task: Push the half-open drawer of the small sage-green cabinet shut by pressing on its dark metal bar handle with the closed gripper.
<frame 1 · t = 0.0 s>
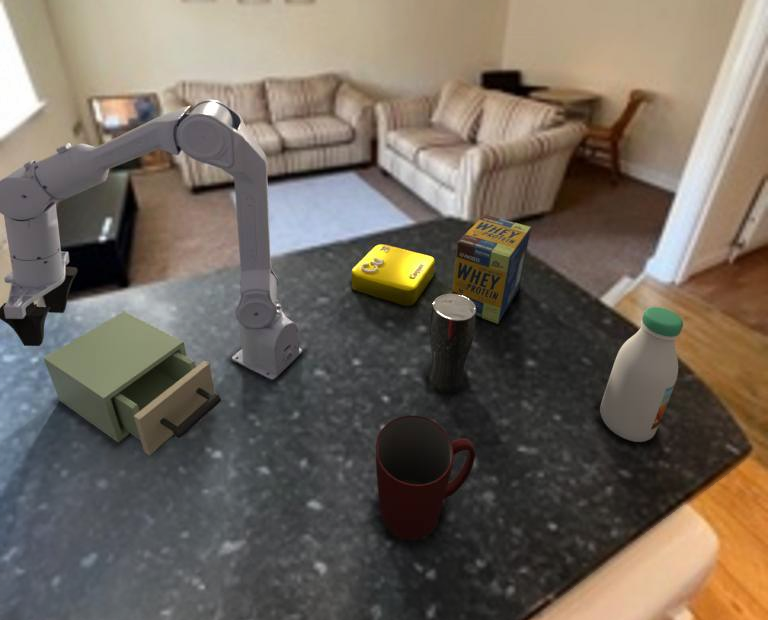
hand: (45, 327, 69), 11 cm above the worktop, tool pointing down, fingers open, 7 cm apart
element tile: (393, 281, 101), on the worktop
drawer: (159, 393, 65), point 4 cm above the worktop, slide at 5.0 cm
protein box: (486, 297, 96), on the worktop
beer glass: (446, 379, 75), on the worktop
milk bottle: (625, 422, 68), on the worktop
cabinet: (127, 391, 71), on the worktop
mug: (421, 506, 56), on the worktop
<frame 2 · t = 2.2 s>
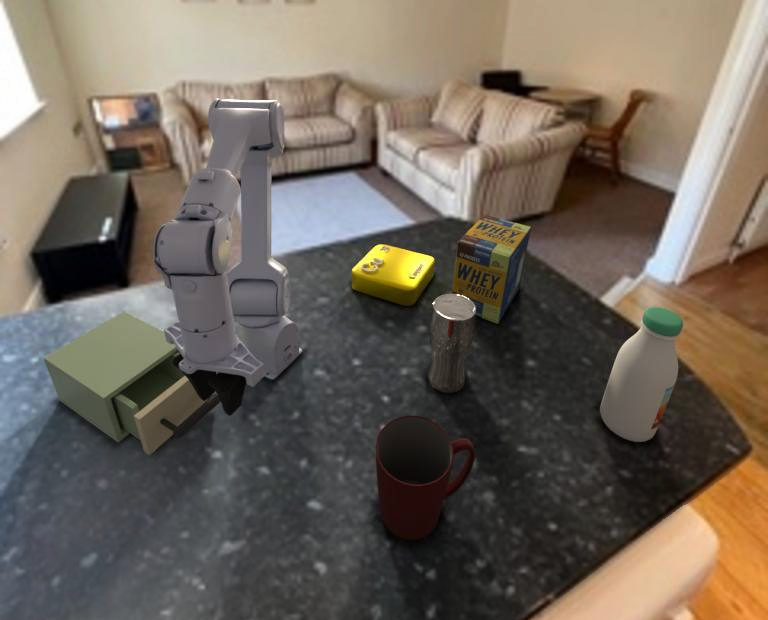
hand: (221, 401, 57), 10 cm above the worktop, tool pointing down, fingers open, 4 cm apart
nothing on the worktop moved.
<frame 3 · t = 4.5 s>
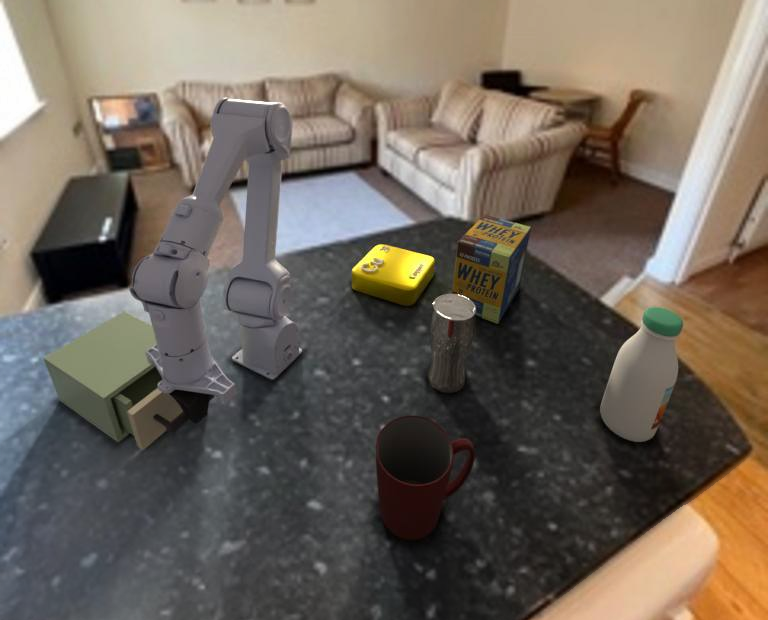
hand: (198, 417, 62), 4 cm above the worktop, tool pointing down, fingers closed
drawer: (153, 390, 66), point 4 cm above the worktop, slide at 3.6 cm, touching gripper
everything else where it was.
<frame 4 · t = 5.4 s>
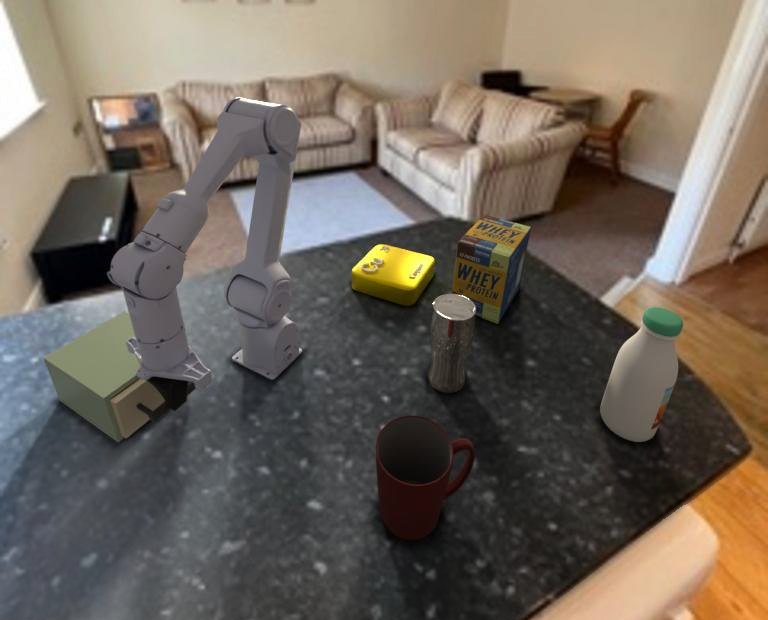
hand: (178, 404, 64), 4 cm above the worktop, tool pointing down, fingers closed, pressing on drawer
drawer: (137, 380, 67), point 4 cm above the worktop, slide at 0.0 cm, touching cabinet, gripper
everything else where it was.
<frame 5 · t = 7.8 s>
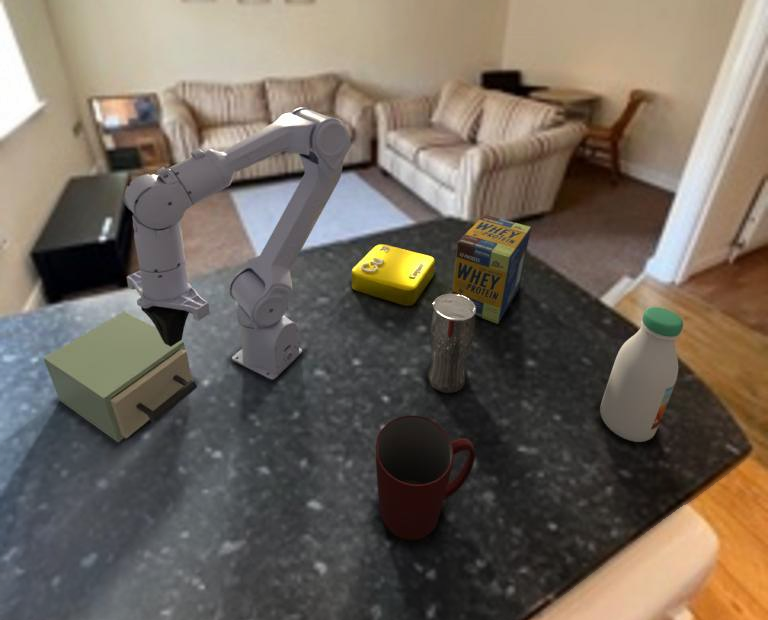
hand: (173, 341, 67), 10 cm above the worktop, tool pointing down, fingers closed
drawer: (137, 380, 67), point 4 cm above the worktop, slide at 0.0 cm, touching cabinet
everything else where it was.
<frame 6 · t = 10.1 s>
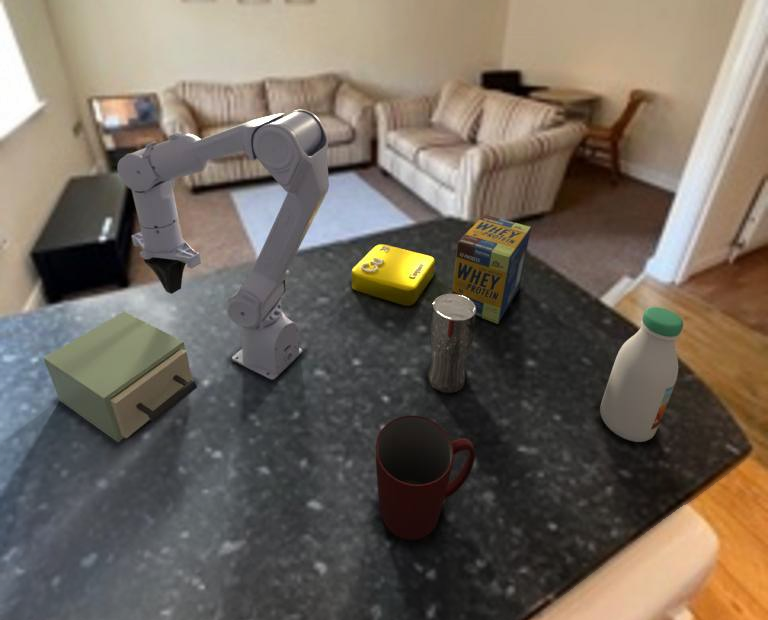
hand: (173, 290, 78), 10 cm above the worktop, tool pointing down, fingers closed
nothing on the worktop moved.
at the end: drawer slide at 0.0 cm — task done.
